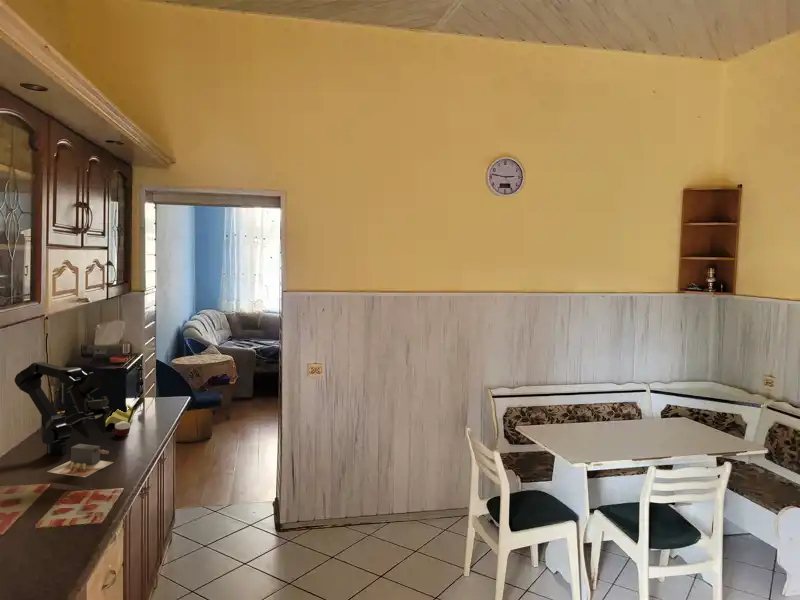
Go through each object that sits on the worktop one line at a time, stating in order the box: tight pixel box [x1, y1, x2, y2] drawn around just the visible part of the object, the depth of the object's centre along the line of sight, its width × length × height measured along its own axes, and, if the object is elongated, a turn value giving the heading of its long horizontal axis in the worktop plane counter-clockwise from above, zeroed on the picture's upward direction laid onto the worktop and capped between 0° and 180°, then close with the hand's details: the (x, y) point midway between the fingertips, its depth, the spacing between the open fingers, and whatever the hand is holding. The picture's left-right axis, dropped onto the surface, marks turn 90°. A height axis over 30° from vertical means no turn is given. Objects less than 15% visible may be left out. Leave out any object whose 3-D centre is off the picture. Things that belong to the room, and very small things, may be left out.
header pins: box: [71, 462, 86, 472], centre depth 227 cm, size 6×1×3 cm, turn 79°
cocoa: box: [111, 406, 135, 437], centre depth 274 cm, size 10×6×12 cm, turn 109°
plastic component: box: [106, 405, 136, 428], centre depth 293 cm, size 20×7×10 cm
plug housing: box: [70, 443, 110, 465], centre depth 236 cm, size 14×4×6 cm, turn 79°
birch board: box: [46, 460, 114, 478], centre depth 232 cm, size 16×16×2 cm
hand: (96, 435), depth 236 cm, fingers open, 9 cm apart
